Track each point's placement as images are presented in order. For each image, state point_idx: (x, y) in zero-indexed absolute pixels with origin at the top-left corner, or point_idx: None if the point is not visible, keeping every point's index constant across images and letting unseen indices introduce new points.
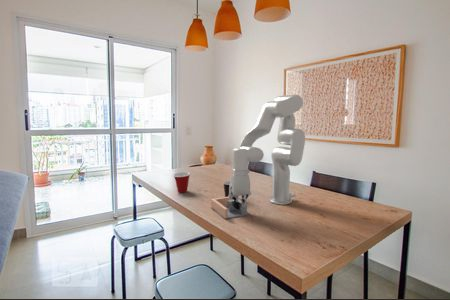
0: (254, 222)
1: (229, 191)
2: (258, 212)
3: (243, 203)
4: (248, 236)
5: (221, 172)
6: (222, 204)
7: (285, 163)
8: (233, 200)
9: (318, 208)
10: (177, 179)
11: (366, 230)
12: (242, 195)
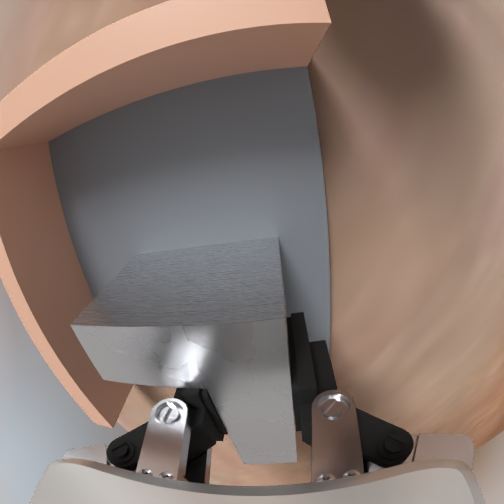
0: None
1: (45, 491)
2: (411, 337)
3: (265, 456)
4: (210, 472)
5: None
6: (100, 109)
7: None
8: (161, 371)
9: None
10: None
11: (488, 438)
12: (323, 464)
